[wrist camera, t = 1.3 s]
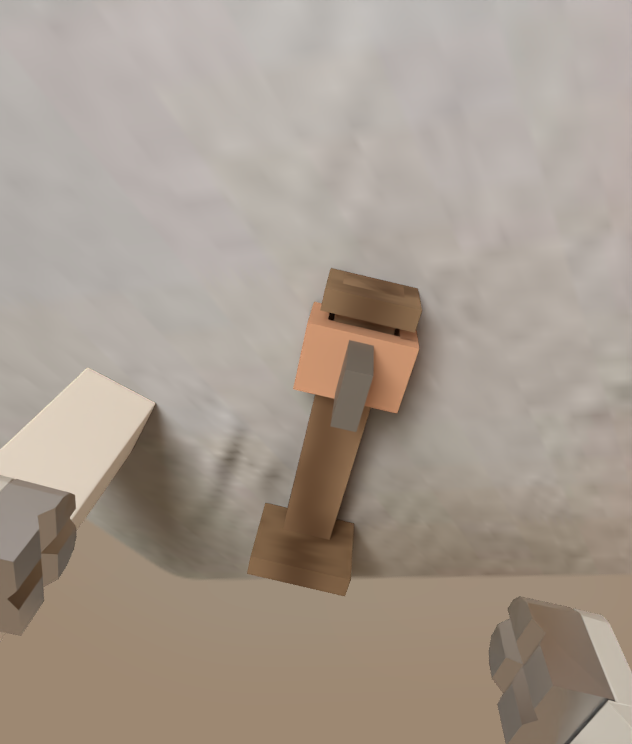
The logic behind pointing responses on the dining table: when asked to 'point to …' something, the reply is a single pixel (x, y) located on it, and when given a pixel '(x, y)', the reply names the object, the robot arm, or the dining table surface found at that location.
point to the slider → (354, 367)
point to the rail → (328, 455)
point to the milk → (78, 440)
